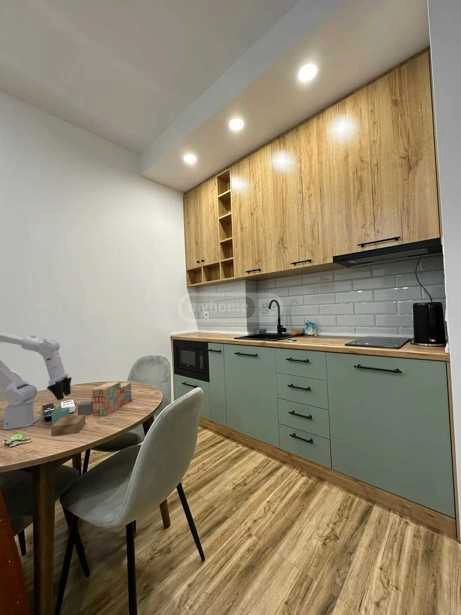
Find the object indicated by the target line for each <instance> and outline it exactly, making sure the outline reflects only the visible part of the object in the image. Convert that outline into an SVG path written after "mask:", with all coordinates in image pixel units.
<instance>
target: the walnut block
mask: <svg viewBox="0 0 461 615" xmlns="http://www.w3.org/2000/svg"><path fill="white" fill-rule="evenodd" d="M85 425H86V416H85V415H78V414H77V415H73V416H72V415H70V417H62V418H60V419H59V420H58V421H57V422H56V423H55V424H51V427H50V431H51V433H50V436H51V437H58V436H65V435H72V434H79V432H80V431H81V430H82V429H83V427H84V426H85Z"/></svg>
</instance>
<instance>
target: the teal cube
mask: <svg viewBox="0 0 461 615" xmlns="http://www.w3.org/2000/svg"><path fill="white" fill-rule="evenodd" d="M70 414H71V413H70V407H69V406H67V407H66V406H65V407H59V408H58V407H57V408H56V409H54V410H53V411H51V425H53V424H55V423H56V422H57V421H58V420H59V419H60V418H62V417H70V416H71V415H70Z"/></svg>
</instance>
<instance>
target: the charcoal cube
mask: <svg viewBox="0 0 461 615" xmlns="http://www.w3.org/2000/svg"><path fill="white" fill-rule="evenodd" d="M92 414H93V400H88V401H81V402H80V403H79V404H78V405H77V416H78V415H85V417H86V416H90V415H92Z"/></svg>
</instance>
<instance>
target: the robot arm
mask: <svg viewBox="0 0 461 615" xmlns="http://www.w3.org/2000/svg"><path fill="white" fill-rule="evenodd" d="M0 343H6V344H7V343H8V344H13V345H17V346H18V345H19V346H21V347H20V348H22V349H23V350H25V351H32V352H35V353H38V354H39V355H41V356H42V359H43V361H44V364H45V367H46V370H47V373H48V376H49V379H50V380H49V381H47V383H48V386H46V389H47V390H49V391H50V392H51V393H52V394H53V396H54V397H55V398H56V400H57V401H61V400H64V398H65V397H64V396H66V397H67V396H69V395H71V394H72V392H71V390H72V389H71V382H72V377H71V376H69V375H70V374H69V373H66V372H65V368H64V365H63V361H62V358H61V355H60V352H59V349H60V344H59V342H57V341H56V340H54V339H51V340H47V338H38V337H37V336H36V335H30V336H29V335H28V336H25V337H22V336H19V335H15V334H12V333H9V332H5V331H0ZM0 385H1V386H2V387H3V388H4V389H5V390H4V393H3V395H4V397H6V400H7V403H9V404H8V405H7V406H5V408H4V412H3V428H2V430H3V429H4V430H11V429H12V430H13V429H20V428H26V427H28V428H29V427H30V426H32V425H33V424H34V423H36V422H37V421H38V420H39V417H36V418H35V408H34V407H35V406H34V405H35V404H34V403H35V402H34V401H35V397H36V396H37V394H38V389H37V387H36V386H35V385H33V384H30V383H29V382H28V381H26V380H22V379H20V378H19V377H18V376H17V375H16V374H15V372H13V371H12V370H11V369H10V368H9V367H8V366H7V365H6V364H5V363H4V362H3V361H2V360H1V359H0Z"/></svg>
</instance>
